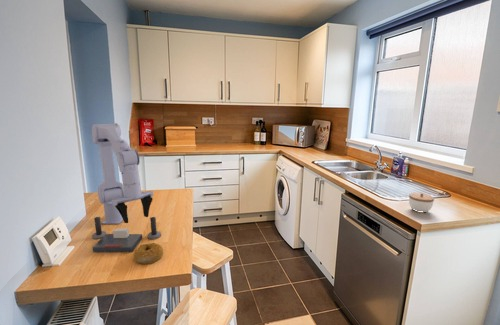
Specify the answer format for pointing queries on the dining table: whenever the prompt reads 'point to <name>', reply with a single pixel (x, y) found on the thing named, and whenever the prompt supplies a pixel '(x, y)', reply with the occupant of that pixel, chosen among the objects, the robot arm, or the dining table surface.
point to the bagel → (148, 253)
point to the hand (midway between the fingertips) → (136, 219)
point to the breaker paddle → (120, 233)
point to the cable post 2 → (153, 229)
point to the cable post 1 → (98, 229)
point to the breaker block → (117, 243)
